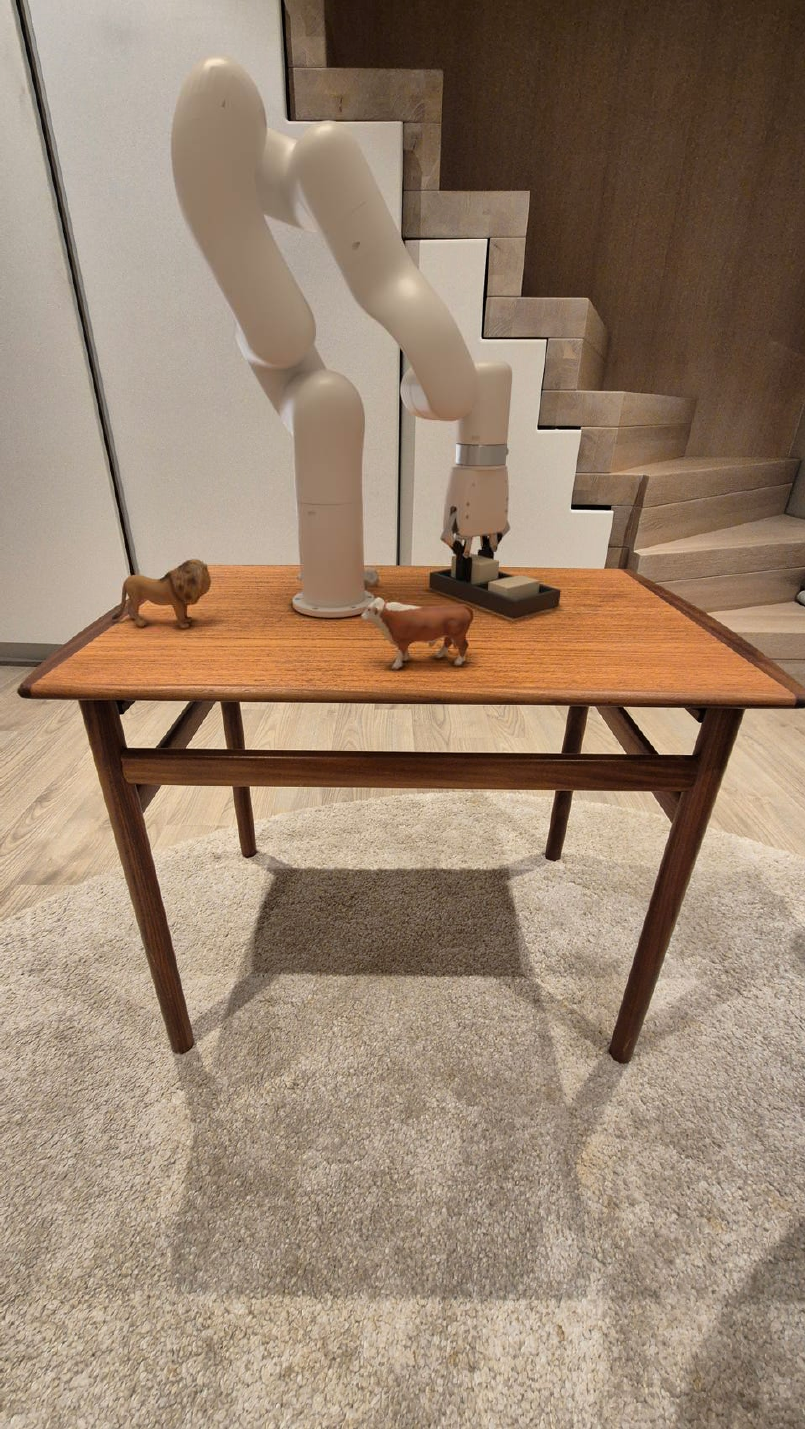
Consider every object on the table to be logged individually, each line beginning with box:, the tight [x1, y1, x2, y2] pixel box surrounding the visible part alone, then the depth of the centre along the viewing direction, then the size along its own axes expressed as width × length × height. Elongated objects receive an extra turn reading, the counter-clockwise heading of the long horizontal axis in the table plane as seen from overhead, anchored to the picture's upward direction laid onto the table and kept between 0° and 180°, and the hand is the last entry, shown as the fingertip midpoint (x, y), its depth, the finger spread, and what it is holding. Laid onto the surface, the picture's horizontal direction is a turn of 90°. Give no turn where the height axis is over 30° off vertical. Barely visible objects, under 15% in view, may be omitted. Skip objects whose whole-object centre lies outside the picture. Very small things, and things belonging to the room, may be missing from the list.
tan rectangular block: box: [450, 552, 500, 584], centre depth 97 cm, size 4×7×4 cm, turn 37°
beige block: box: [488, 574, 541, 600], centre depth 92 cm, size 4×7×4 cm, turn 127°
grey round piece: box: [364, 567, 381, 589], centre depth 101 cm, size 4×4×3 cm
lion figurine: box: [110, 558, 212, 630], centre depth 83 cm, size 15×5×9 cm, turn 92°
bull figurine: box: [360, 596, 474, 670], centre depth 71 cm, size 4×13×8 cm, turn 94°
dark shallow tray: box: [428, 567, 562, 620], centre depth 95 cm, size 10×19×3 cm, turn 37°
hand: (473, 576), depth 98 cm, fingers closed on tan rectangular block, 4 cm apart
